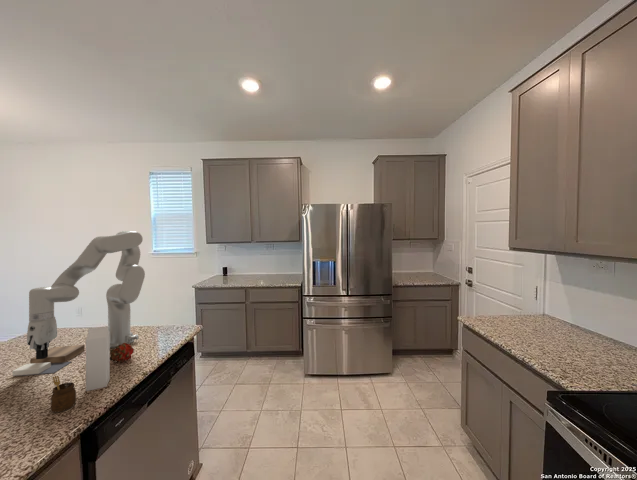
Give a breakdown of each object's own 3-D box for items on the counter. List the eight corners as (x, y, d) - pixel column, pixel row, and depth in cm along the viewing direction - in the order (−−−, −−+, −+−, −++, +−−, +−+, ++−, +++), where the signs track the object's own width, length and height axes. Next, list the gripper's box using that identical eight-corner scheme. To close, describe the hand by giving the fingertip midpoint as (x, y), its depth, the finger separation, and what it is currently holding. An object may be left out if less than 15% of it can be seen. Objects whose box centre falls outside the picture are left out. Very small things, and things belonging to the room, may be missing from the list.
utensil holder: (80, 401, 90) (80, 366, 90) (65, 412, 84) (65, 375, 84) (60, 402, 89) (60, 367, 89) (44, 415, 83) (44, 377, 83)
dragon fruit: (116, 371, 113) (122, 363, 124) (136, 355, 117) (140, 349, 128) (102, 357, 112) (109, 350, 123) (122, 341, 116) (127, 337, 126)
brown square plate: (84, 350, 131) (84, 344, 131) (65, 362, 118) (65, 356, 118) (53, 353, 128) (53, 346, 128) (30, 365, 115) (30, 358, 115)
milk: (106, 387, 98) (106, 328, 98) (85, 391, 96) (85, 331, 95) (109, 379, 104) (109, 323, 104) (89, 383, 101) (90, 326, 101)
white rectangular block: (38, 368, 108) (38, 373, 108) (50, 362, 114) (50, 366, 114) (12, 370, 106) (12, 375, 106) (26, 364, 112) (26, 368, 112)
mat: (71, 362, 118) (71, 361, 118) (54, 373, 109) (54, 372, 109) (42, 364, 116) (42, 363, 116) (22, 376, 106) (22, 375, 106)
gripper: (37, 320, 107) (37, 365, 107) (64, 311, 122) (64, 350, 122) (15, 321, 106) (15, 367, 106) (45, 311, 121) (45, 351, 121)
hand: (41, 358), depth 114 cm, fingers closed
